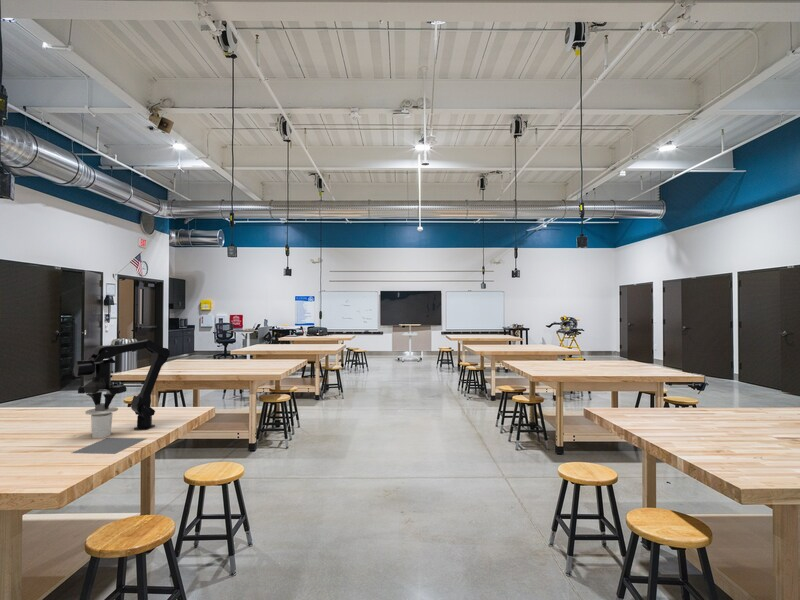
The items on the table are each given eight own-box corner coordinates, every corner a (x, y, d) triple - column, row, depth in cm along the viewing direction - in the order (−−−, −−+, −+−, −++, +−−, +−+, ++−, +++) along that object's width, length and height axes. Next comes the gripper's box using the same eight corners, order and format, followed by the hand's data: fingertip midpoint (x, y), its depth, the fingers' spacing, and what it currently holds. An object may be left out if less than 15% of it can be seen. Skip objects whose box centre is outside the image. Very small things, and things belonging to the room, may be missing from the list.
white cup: (87, 440, 185) (87, 417, 185) (95, 434, 193) (95, 412, 193) (108, 438, 187) (108, 415, 188) (114, 433, 195) (115, 411, 195)
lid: (98, 408, 196) (98, 401, 196) (124, 408, 196) (124, 401, 196) (78, 414, 184) (78, 407, 185) (105, 414, 184) (105, 407, 184)
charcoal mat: (107, 438, 187) (107, 437, 187) (147, 439, 186) (147, 438, 186) (70, 454, 167) (70, 452, 167) (115, 455, 166) (115, 453, 166)
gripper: (68, 376, 183) (67, 412, 183) (110, 376, 182) (109, 413, 182) (87, 372, 194) (87, 406, 194) (127, 372, 193) (127, 407, 193)
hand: (102, 408), depth 190 cm, fingers closed on lid, 4 cm apart
